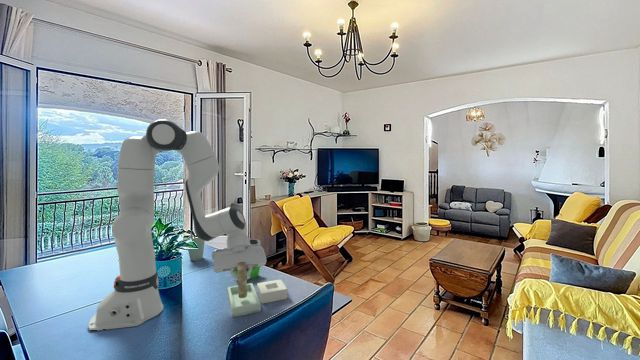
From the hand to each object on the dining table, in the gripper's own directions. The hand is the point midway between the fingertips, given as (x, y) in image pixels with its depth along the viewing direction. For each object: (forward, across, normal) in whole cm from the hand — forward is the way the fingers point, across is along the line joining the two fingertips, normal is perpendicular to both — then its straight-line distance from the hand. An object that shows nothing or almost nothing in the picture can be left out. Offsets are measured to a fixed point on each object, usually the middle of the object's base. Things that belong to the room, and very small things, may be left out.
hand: (242, 278), depth 114 cm
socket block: (+6, +12, +8) cm, 15 cm away
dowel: (+5, 0, +6) cm, 7 cm away
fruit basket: (-10, +4, +24) cm, 27 cm away
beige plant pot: (-37, -18, +51) cm, 65 cm away
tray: (+6, 0, +7) cm, 10 cm away
